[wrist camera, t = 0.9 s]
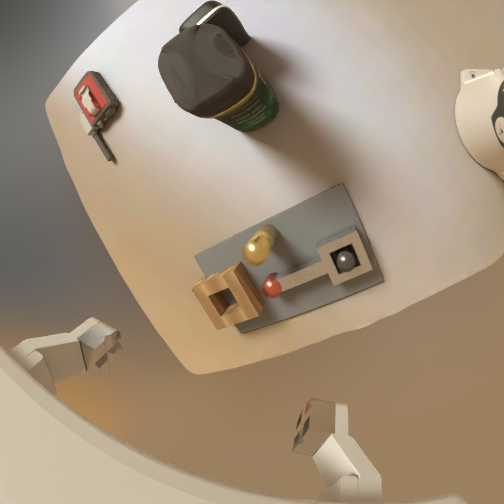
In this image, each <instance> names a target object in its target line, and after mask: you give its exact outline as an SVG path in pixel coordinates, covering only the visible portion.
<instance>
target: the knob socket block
mask: <svg viewBox="0 0 504 504" xmlns="http://www.w3.org/2000/svg"><path fill="white" fill-rule="evenodd" d="M351 243H352V245H353V247H354V249H355V252H356V254H357V256H358V258H356V259H354V260H355V267H354V268H353V270H351V271H350V272H342V271H340V270H339V268H338V266H337V264H336V261H335V259H334V257H333V255H332V253H331V252H333V251H335V250H338V249H340V248H342V247H344V246H347V245H349V244H351ZM316 249H317V251H318V253H319V255H320V256H319V257H316V258H314V259H312V260H309V261H307V262H305V263H302V264H300V265H298V266H295V267H293V268H291V269H288V270H286V271H284V272H281V273H270V274H269V275H268V276H267V278H266V280H265V282H264V284H263V286H262V292H263V294H264V295H265V296H266V297H268V298H272V299H273V298H276V297H278V296H279V295H280V293H281V292H282V291H285V290H287V289H290V288H293V287H295V286H298V285H300V284H303V283H305V282H308V281H310V280H312V279H315V278H317V277H320V276H322V275H325V274H327V273H328V274H329V277H330V279H331V281H332V283H333V285H334V286H335V285H337V284H339V283H342V282H344V281H347V280H349V279H351V278H354V277H356V276H359V275H361V274H363V273H366V272H368V271H370V270H373V269H372V266H371V264H370V261H369V259H368V256H367V254H366V251H365V249H364V246H363V244H362V241H361V239H360V237H359V234H358V232H357V230H356V228H355V225H354V226H352V227H350V228H347V229H345V230H343V231H341V232H339V233H336V234H334V235H332V236H330V237H327V238H325V239H323V240H321V241H318V242H317V247H316Z"/></svg>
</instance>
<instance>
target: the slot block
mask: <svg viewBox="0 0 504 504" xmlns="http://www.w3.org/2000/svg"><path fill="white" fill-rule="evenodd" d="M226 288H229V289H230V290H231V292H232V294H233V296H234V297H235V299H236V301H237V302H235V303H232V304H228V303H227V301H226V300H225V298H224V296H223V295H222V293H221V290H224V289H226ZM192 291H193V292H194V294H195V296H196V297H197V299H198V300H199V302H200V304H201V305H202V307H203V308H204V310H205V312H206V313H207V315H208V316H209V318H210V319H211V321H212V322H213V324H214V326H215V327H216V329H217V330H219V329H222V328H225V327H228V326H231V325H234V324H237V323H240V322H243V321H246V320H249V319H252V318H255V317H258V316H259V315H260V313H261V311H262V308H263V306H264V304H265V303H264V301H263V299H262V298H261V296H260V294H259V292H258V291H257V289H256V287H255V285H254V284H253V282H252V280H251V278H250V277H249V275H248V273H247V271H246V269H245V268H244V266H243V264H242V262H238V263H236V264H234V265H232V266H230V267H227V268H225V269H223V270H221V271H219V272H216V273H214V274H212V275H210V276H208V277H205V278H203V279H201V280H200V281H199V282H198V283H197V284H196V285H195V286H194V288H193V289H192Z"/></svg>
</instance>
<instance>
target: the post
mask: <svg viewBox="0 0 504 504" xmlns="http://www.w3.org/2000/svg"><path fill="white" fill-rule="evenodd" d="M336 259H337V266H338V268H339V270H340V271H342V272H350V271H351V270H353V268H354V267H355V260H354V256H353V253H352V250H351V247H350V246H349V245H347V246H344V247H342V248H340V249H338V250H336Z"/></svg>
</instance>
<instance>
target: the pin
mask: <svg viewBox="0 0 504 504" xmlns="http://www.w3.org/2000/svg"><path fill="white" fill-rule="evenodd" d="M277 239H278V231H277V229H276V228H275V227H274V226H273V225H269V224H266V225H263V226H262V227H261V228H260V229H259V230H258V231H257V232H256V233H255V235H254V236H253V237H252V238H251V239H250V240H249V241H248V242H247V244H246V245H245V246H244V247H243V249H242V257H243V260H244V261H245V262H246V263H247V264H249V265H251V266H260V265H262V264H263V263H264V262H265V260H266V258H267V257H268V255H269V253H270V251H271V249H272V248H273V246H274V244H275V242H276V241H277Z"/></svg>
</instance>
